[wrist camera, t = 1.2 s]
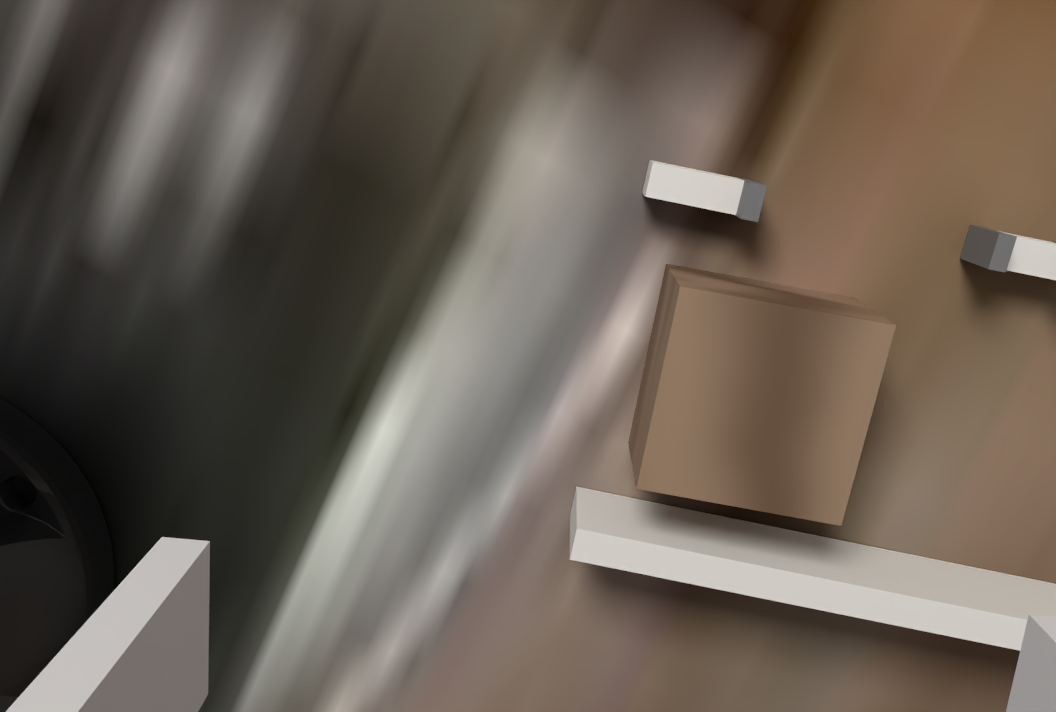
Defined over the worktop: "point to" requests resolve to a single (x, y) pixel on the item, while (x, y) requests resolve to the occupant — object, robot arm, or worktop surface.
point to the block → (757, 394)
